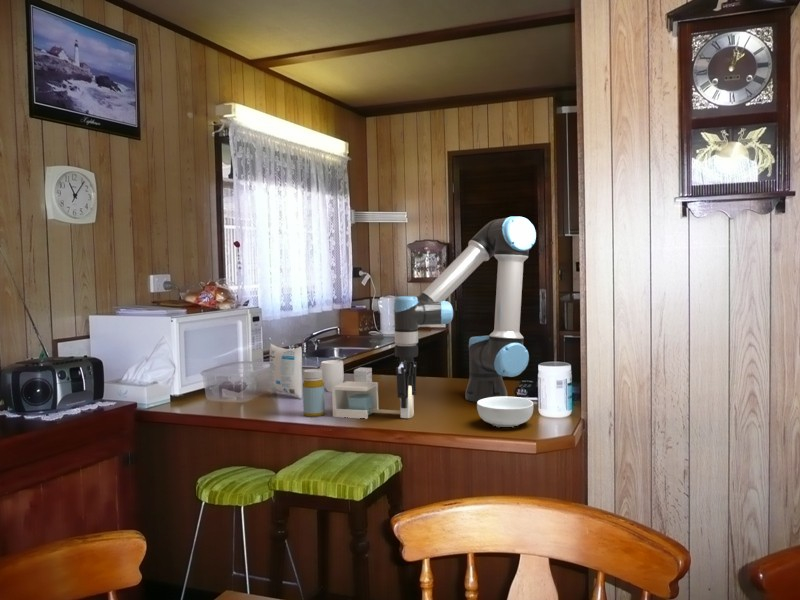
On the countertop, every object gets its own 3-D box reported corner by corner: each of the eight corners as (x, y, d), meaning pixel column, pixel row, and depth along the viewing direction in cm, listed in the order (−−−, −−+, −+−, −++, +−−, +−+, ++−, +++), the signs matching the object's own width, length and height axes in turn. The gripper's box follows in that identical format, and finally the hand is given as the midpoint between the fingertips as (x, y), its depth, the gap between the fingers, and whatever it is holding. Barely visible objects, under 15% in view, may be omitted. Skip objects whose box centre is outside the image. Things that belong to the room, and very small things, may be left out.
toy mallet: (415, 415, 208) (414, 384, 208) (409, 419, 203) (408, 388, 202) (356, 411, 216) (355, 382, 215) (348, 415, 210) (347, 385, 209)
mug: (349, 389, 256) (347, 360, 255) (333, 394, 249) (332, 364, 248) (328, 387, 263) (327, 358, 262) (313, 391, 256) (311, 361, 255)
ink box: (367, 403, 230) (366, 370, 229) (353, 403, 231) (352, 370, 230) (372, 398, 238) (371, 366, 237) (360, 398, 239) (359, 366, 238)
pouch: (292, 401, 237) (290, 347, 236) (264, 394, 251) (262, 344, 250) (309, 397, 243) (307, 345, 242) (281, 391, 256) (279, 342, 255)
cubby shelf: (378, 411, 215) (377, 382, 215) (366, 418, 205) (365, 388, 205) (346, 409, 219) (345, 381, 219) (332, 416, 210) (331, 386, 209)
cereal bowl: (466, 425, 193) (465, 402, 193) (499, 415, 205) (498, 394, 204) (512, 435, 181) (511, 410, 181) (544, 423, 193) (544, 400, 192)
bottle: (314, 411, 218) (313, 368, 218) (329, 414, 214) (327, 369, 213) (299, 415, 213) (297, 371, 212) (313, 418, 208) (312, 372, 208)
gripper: (404, 341, 214) (405, 410, 215) (385, 347, 198) (386, 421, 200) (425, 341, 211) (426, 411, 212) (408, 347, 196) (409, 423, 197)
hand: (407, 416), depth 206 cm, fingers closed on toy mallet, 3 cm apart
